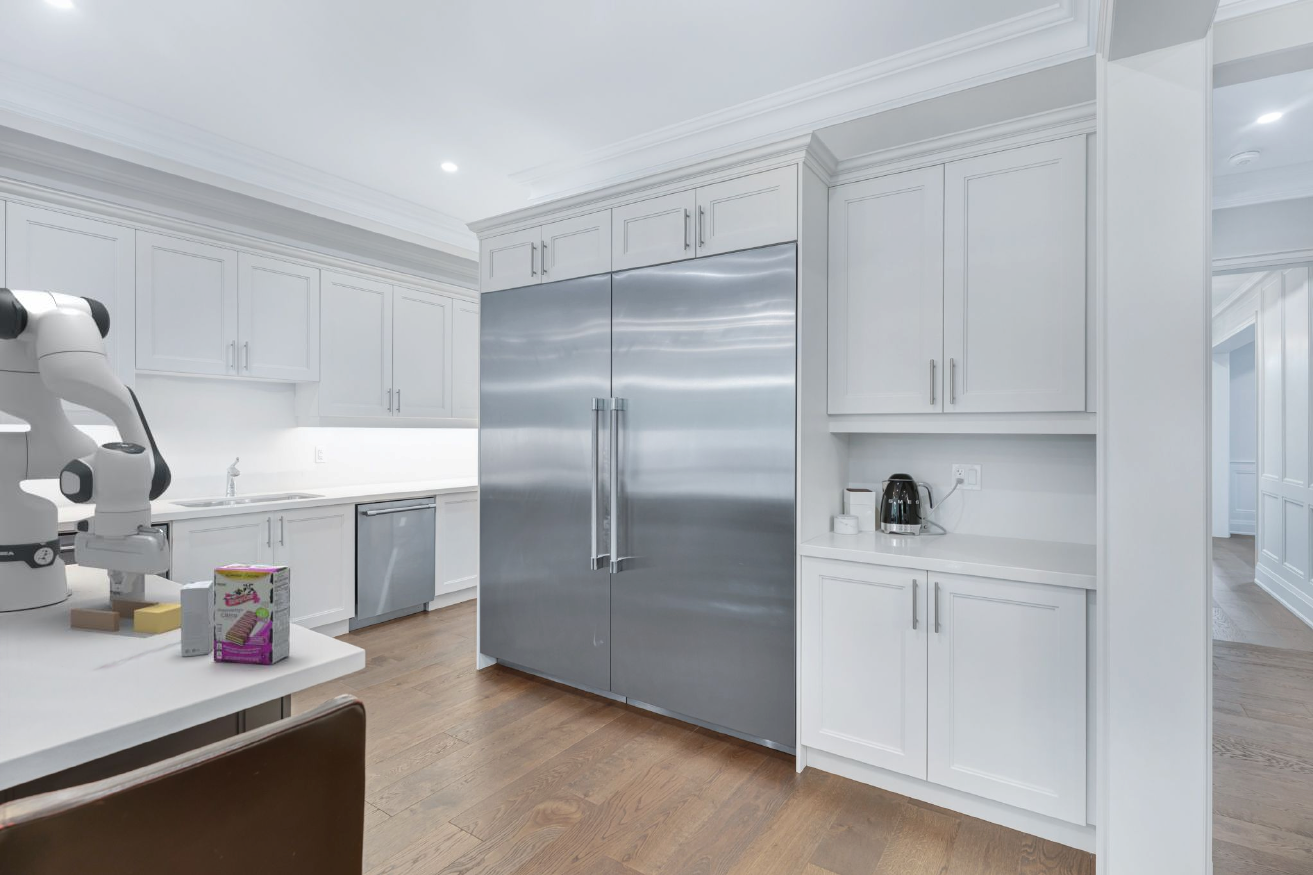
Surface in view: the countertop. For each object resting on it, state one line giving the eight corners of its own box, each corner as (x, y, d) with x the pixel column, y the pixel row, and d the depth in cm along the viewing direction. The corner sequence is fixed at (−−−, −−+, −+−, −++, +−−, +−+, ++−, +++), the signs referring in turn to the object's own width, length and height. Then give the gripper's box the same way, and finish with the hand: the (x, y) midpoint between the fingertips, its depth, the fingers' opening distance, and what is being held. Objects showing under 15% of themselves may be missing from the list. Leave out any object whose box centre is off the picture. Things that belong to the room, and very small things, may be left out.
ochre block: (134, 631, 126) (134, 610, 126) (164, 622, 132) (164, 602, 132) (158, 633, 125) (158, 612, 125) (187, 624, 130) (187, 604, 130)
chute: (64, 633, 127) (64, 610, 127) (122, 618, 138) (122, 596, 137) (144, 643, 122) (144, 619, 122) (198, 626, 133) (198, 604, 133)
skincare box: (209, 654, 117) (210, 586, 117) (179, 657, 115) (179, 589, 115) (215, 643, 122) (216, 579, 122) (186, 647, 120) (187, 581, 120)
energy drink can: (107, 609, 144) (107, 541, 144) (141, 604, 149) (141, 538, 148) (112, 614, 140) (113, 545, 140) (147, 609, 145) (147, 541, 144)
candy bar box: (211, 662, 113) (211, 568, 112) (233, 653, 118) (233, 562, 117) (272, 666, 111) (272, 570, 111) (291, 656, 116) (291, 564, 116)
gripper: (179, 525, 132) (178, 593, 132) (100, 517, 136) (99, 582, 137) (149, 530, 126) (148, 601, 126) (67, 522, 130) (66, 590, 131)
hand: (122, 591), depth 131 cm, fingers closed
